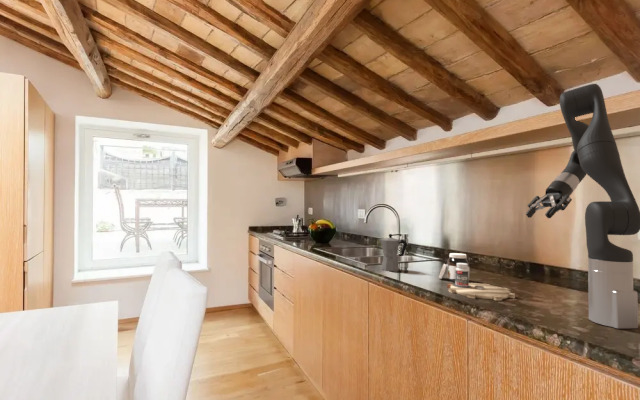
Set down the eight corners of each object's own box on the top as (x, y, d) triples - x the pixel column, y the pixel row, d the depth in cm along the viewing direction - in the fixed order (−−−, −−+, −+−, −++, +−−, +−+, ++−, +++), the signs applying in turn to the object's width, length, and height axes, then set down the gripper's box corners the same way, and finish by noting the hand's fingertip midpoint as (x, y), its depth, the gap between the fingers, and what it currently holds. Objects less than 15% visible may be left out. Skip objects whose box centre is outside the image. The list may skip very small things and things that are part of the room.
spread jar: (472, 284, 135) (472, 255, 135) (444, 283, 135) (444, 255, 136) (460, 278, 147) (460, 252, 147) (435, 277, 147) (435, 251, 148)
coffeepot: (374, 269, 165) (374, 233, 166) (382, 266, 173) (383, 232, 173) (402, 273, 156) (402, 235, 156) (410, 270, 163) (410, 234, 164)
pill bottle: (455, 286, 124) (455, 264, 124) (455, 283, 128) (455, 262, 129) (469, 287, 122) (469, 264, 123) (468, 284, 127) (468, 263, 127)
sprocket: (530, 300, 111) (530, 294, 111) (466, 300, 109) (466, 294, 109) (489, 284, 134) (489, 280, 134) (436, 285, 132) (436, 280, 132)
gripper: (540, 181, 131) (516, 209, 129) (574, 178, 117) (548, 209, 115) (551, 194, 132) (527, 222, 129) (586, 193, 118) (560, 224, 115)
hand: (537, 216), depth 122 cm, fingers open, 8 cm apart
